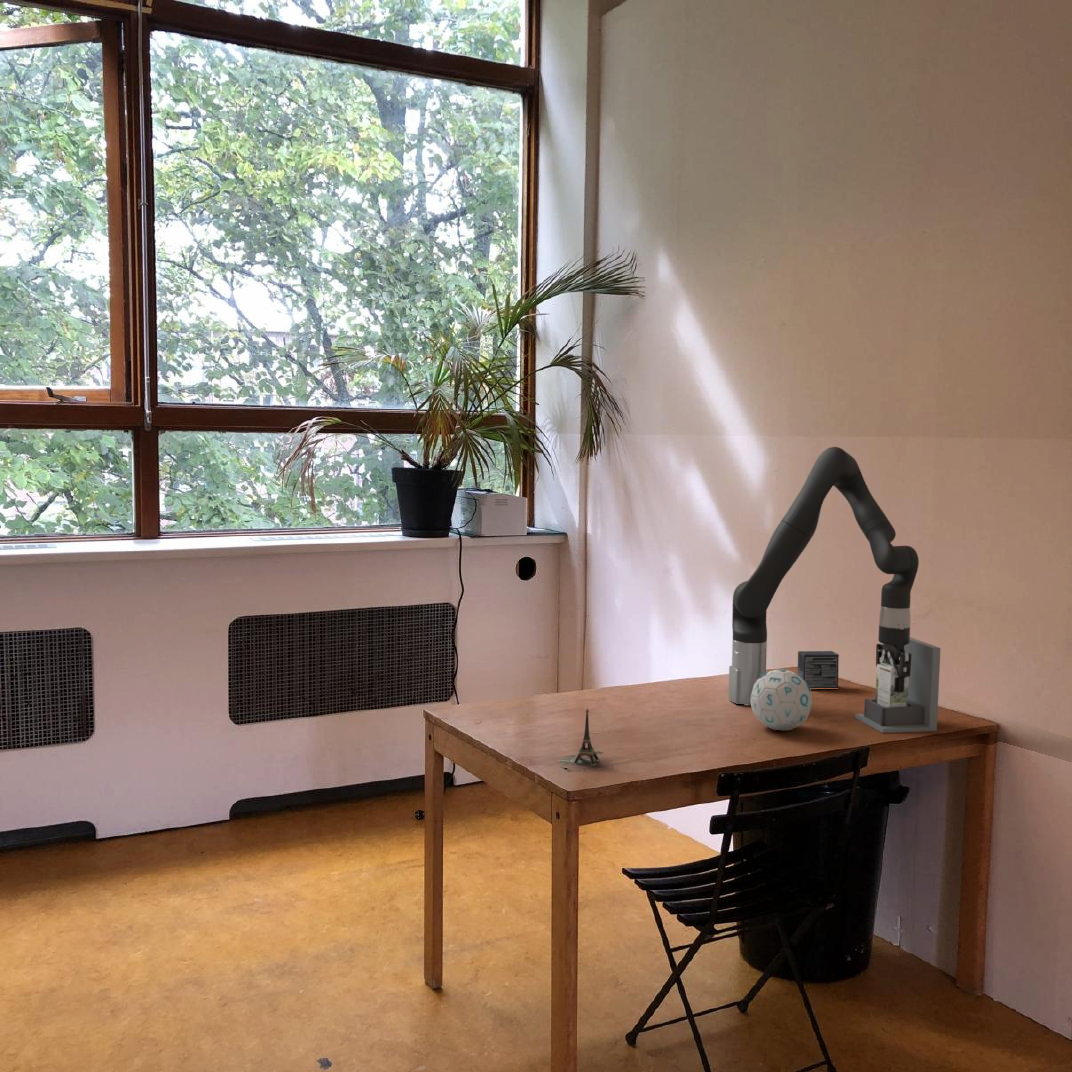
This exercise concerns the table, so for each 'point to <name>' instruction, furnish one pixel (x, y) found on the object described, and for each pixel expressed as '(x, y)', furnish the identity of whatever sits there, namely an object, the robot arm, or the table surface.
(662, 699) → the table surface
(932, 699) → the wall holder
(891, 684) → the syrup box
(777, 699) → the puzzle ball
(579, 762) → the eiffel tower figurine
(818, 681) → the small box
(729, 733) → the table surface
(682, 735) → the table surface
